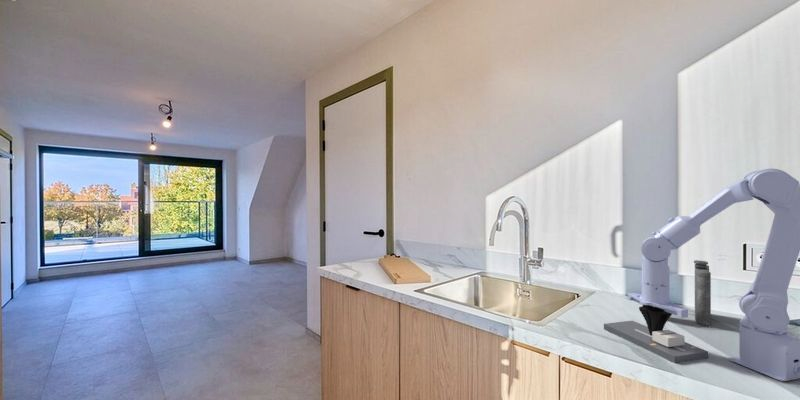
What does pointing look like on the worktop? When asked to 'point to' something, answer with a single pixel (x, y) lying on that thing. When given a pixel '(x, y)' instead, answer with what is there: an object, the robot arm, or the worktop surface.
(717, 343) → the worktop surface
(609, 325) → the console
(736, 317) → the worktop surface
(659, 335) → the fader knob
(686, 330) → the worktop surface
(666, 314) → the robot arm
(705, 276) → the flask
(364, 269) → the worktop surface
